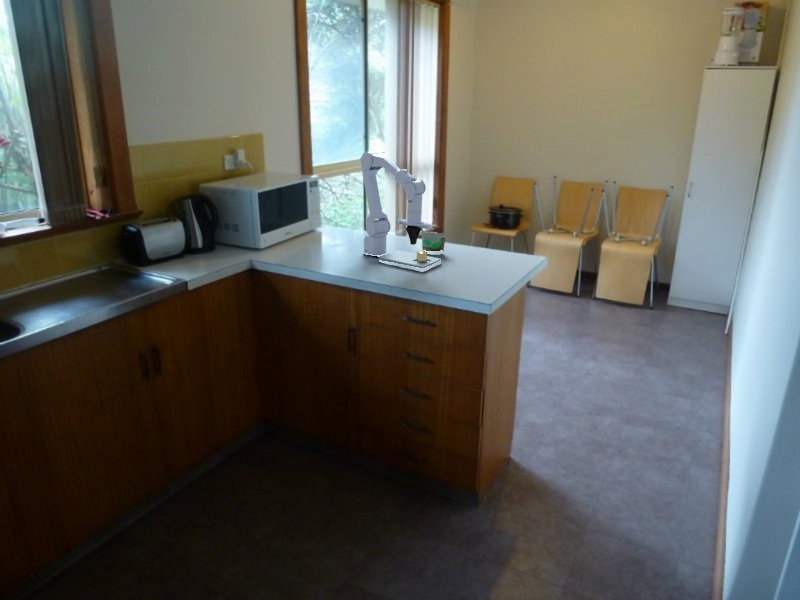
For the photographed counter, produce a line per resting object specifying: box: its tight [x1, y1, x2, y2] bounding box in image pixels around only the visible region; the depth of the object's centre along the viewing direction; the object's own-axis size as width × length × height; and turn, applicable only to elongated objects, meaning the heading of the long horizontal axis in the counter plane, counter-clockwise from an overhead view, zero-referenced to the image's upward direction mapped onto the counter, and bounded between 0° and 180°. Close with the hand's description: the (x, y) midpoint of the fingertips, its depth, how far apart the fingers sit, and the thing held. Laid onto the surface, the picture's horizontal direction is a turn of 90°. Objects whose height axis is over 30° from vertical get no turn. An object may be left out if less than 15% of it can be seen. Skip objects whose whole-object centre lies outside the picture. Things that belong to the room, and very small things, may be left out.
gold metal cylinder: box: [416, 250, 428, 264], centre depth 241 cm, size 4×4×6 cm
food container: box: [419, 228, 448, 251], centre depth 259 cm, size 12×6×10 cm, turn 62°
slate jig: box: [378, 249, 442, 268], centre depth 245 cm, size 22×14×2 cm, turn 56°
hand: (413, 244), depth 240 cm, fingers closed
